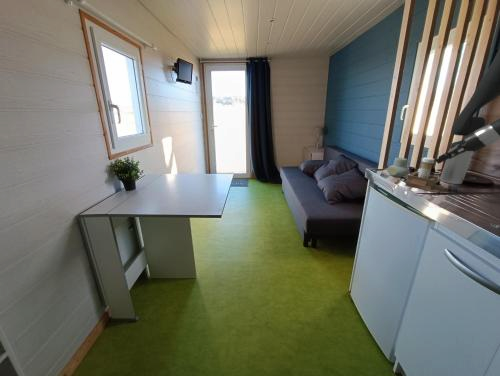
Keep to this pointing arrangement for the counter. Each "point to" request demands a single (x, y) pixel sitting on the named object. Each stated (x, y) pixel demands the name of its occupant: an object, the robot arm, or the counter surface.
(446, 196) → the counter surface
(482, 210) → the counter surface
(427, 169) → the sprinkles bottle
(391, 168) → the air freshener
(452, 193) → the counter surface
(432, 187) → the spice socket
